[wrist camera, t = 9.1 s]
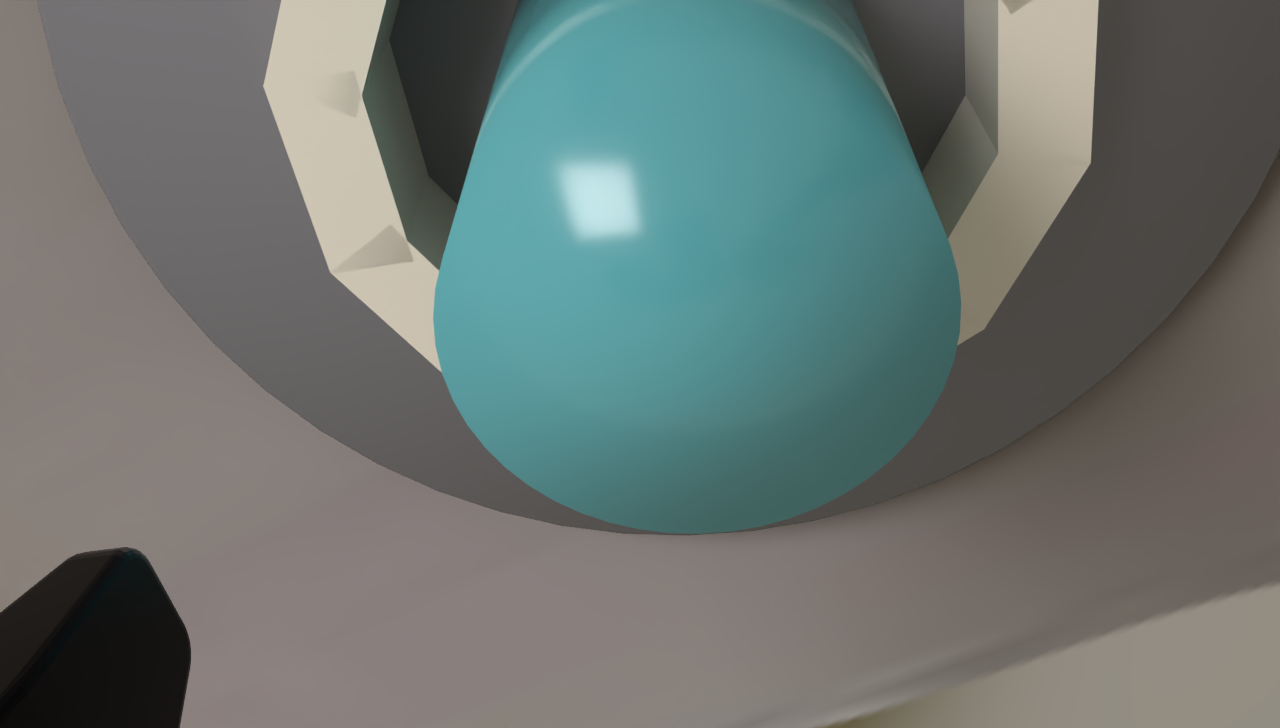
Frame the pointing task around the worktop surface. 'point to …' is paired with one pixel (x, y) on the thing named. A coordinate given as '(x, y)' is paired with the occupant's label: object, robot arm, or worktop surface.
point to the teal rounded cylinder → (694, 263)
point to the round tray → (447, 134)
